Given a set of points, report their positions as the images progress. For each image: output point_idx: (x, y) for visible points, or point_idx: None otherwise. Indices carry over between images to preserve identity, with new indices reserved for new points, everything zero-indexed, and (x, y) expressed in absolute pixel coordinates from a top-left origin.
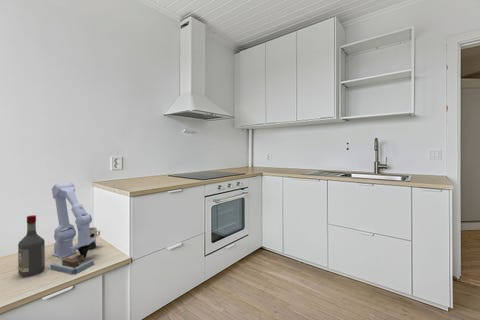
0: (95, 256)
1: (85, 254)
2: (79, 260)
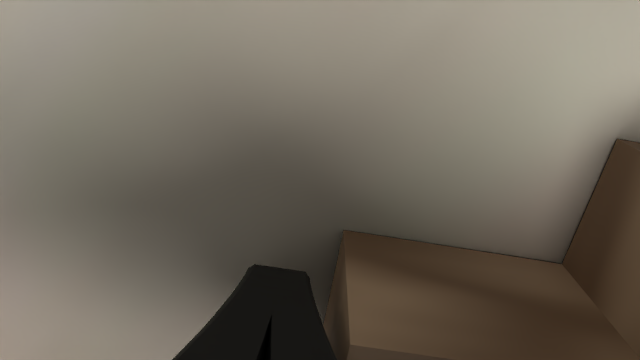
0: (26, 131)
1: (277, 331)
2: (479, 290)
